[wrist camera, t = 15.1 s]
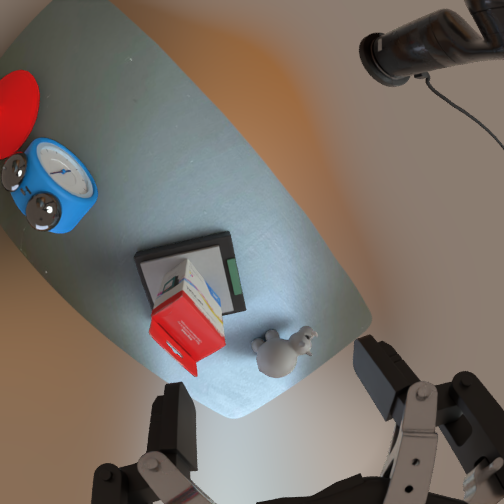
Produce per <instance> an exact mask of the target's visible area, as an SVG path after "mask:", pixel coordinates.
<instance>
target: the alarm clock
mask: <svg viewBox="0 0 504 504" xmlns="http://www.w3.org/2000/svg"><path fill="white" fill-rule="evenodd" d="M1 181H2V185H3V186H4V188H5V189H6V190H7V191H9V192H11V195H12V197H13V199H14V201H15V203H16V205H17V206H18V208H19V209H20V210H21V212H22V213H23V214H24V215H25V216H26V218H27V221H28V223H29V224H30V225H31V226H32V227H33V228H34V229H36V230H38V231H50V232H53V233H66V232H69V231H71V230H72V229H73V228H74V227H75V226H76V225H77V224H78V222H79V221H80V220H81V219H82V218H83V216H84V215H85V214H86V213H87V212H88V210H89V209H90V208H91V207H92V206H93V205H94V204H95V202H96V201H97V197H98V191H97V187H96V184H95V181H94V179H93V177H92V176H91V174H90V172H89V171H88V170H87V168H86V167H85V166H84V164H83V163H82V162H81V161H80V160H79V159H78V158H77V157H76V156H75V155H74V154H73V153H72V152H71V151H70V150H69V149H67V148H66V147H65V146H63V145H62V144H60V143H58V142H56V141H54V140H52V139H49V138H37V139H35V140H33V141H32V142H31V144H30V145H29V147H28V148H27V149H26V151H25V152H15V153H13V154H12V155H10V156H9V157H8V159H7V160H6V161H5V163H4V165H3V168H2V173H1Z"/></svg>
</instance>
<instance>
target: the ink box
mask: <svg viewBox="0 0 504 504" xmlns="http://www.w3.org/2000/svg"><path fill="white" fill-rule="evenodd" d="M151 318H152V320H151V324H150V328H149V335H150V336H151V337H152V338H153V339H154V340H155V341H156V342H157V343H158V344H159V345H160V346H161V347H162V348H163V349H164V350H165V351H166V352H167V353H168V354H169V355H170V356H172V357H173V358H174V359H175V360H176V361H177V362H178V363H179V364H180V365H182V366H183V367H184V368H185V369H186V370H187V371H188V372H190V373H191V374H192V375H193V376H194V377H197V366H196V362H198V361H199V360H201V359H203V358H205V357H207V356H209V355H211V354H212V353H214V352H216V351H218V350H219V349H221V348H222V347H224V346H225V345H226V343H225V336H224V327H223V320H222V311H221V301H220V298H219V297H218V295H217V294H216V293H215V292H214V291H213V289H212V288H211V287H210V286H209V285H208V283H207V282H206V281H205V280H204V278H203V277H202V276H201V275H200V273H199V272H198V271H197V270H196V268H195V267H194V266H193V265H192V263H191V262H190V261H189V260H188V259H186V260H185V261H183V262H182V263H180V264H179V265H178V266H176V267H175V268H174V269H172V270H171V271H170V272H168V273H167V274H166V275H164V276H163V279H162V282H161V285H160V288H159V291H158V295H157V298H156V301H155V304H154V307H153V310H152V314H151ZM166 341H167V342H168V343H169V344H170V345H171V346H172V347H173V348H174V349H175V350H176V351H177V352H178V353H179V354H180V355H181V357H182V358H181V357H180V356H179V355H178V354H175V353H174V352H173V350H172V348H171V347H170V346H169V345H168V344H167V343H166Z"/></svg>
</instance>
